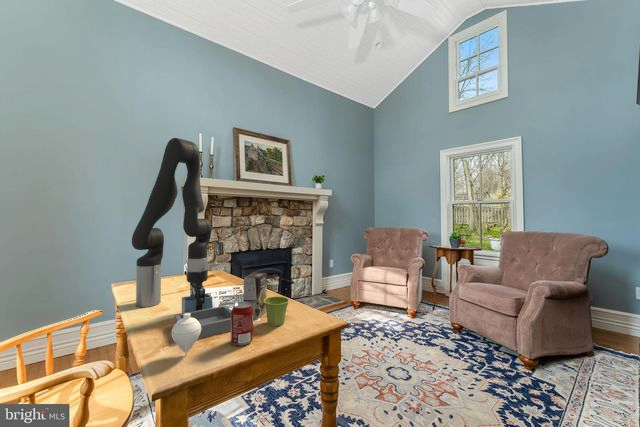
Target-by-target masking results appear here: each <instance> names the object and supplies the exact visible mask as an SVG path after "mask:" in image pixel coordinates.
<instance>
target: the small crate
mask: <svg viewBox="0 0 640 427" xmlns="http://www.w3.org/2000/svg"><path fill="white" fill-rule="evenodd" d="M199 301H201V298H200V299H199ZM209 308H213V296H212V295H211V294H209V293H205V302H204V304H202V310H204V309H209ZM193 311H196V300H195V299H194V296H190V295H189V296H183V297H181V314H183V313H188V312H193Z"/></svg>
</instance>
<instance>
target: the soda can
mask: <svg viewBox="0 0 640 427" xmlns="http://www.w3.org/2000/svg"><path fill="white" fill-rule="evenodd" d="M230 310H231V331H230V343H231V344H232V345H235V346H241V347H242V346H246V345H248V344H249V343H251V342H252V341H253V340H254V336H253V335H254V319H253V308H252V306H251V303H250V302H243V301H238V302H235V303H233V307H232V308H231V309H230Z"/></svg>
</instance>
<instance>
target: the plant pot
mask: <svg viewBox="0 0 640 427" xmlns="http://www.w3.org/2000/svg"><path fill="white" fill-rule="evenodd" d="M289 302H290V298H288V297H285V296H278V295H277V296H270V297H267V298H266V299H264V303H265V306H266V312H265V313H266V319H267V320H266V321H267V324H268V325H269V326H272V327H276V326H283V325H284V324H285V322H286V313H287V307H288V304H289Z"/></svg>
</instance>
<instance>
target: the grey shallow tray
mask: <svg viewBox="0 0 640 427" xmlns="http://www.w3.org/2000/svg"><path fill="white" fill-rule="evenodd" d="M231 310H232V309H231V308H229V307H228V306H227V305H222V306H215V307H212V308H209V309H204V310H199V311H193V312H188V313H190V314H191V315H190V317H191V318H195V319H197V320H198V321H199V323H200V325H201V333H200V335H199V337H198V339H197V340H199V339H203V338H207V337H211V336H214V335H219V334H224V333H227V332H231ZM183 314H185V313H183ZM183 314H182V313H178V314H174V325H175V324H176V323H177V321H179V320H181V319H183Z"/></svg>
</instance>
